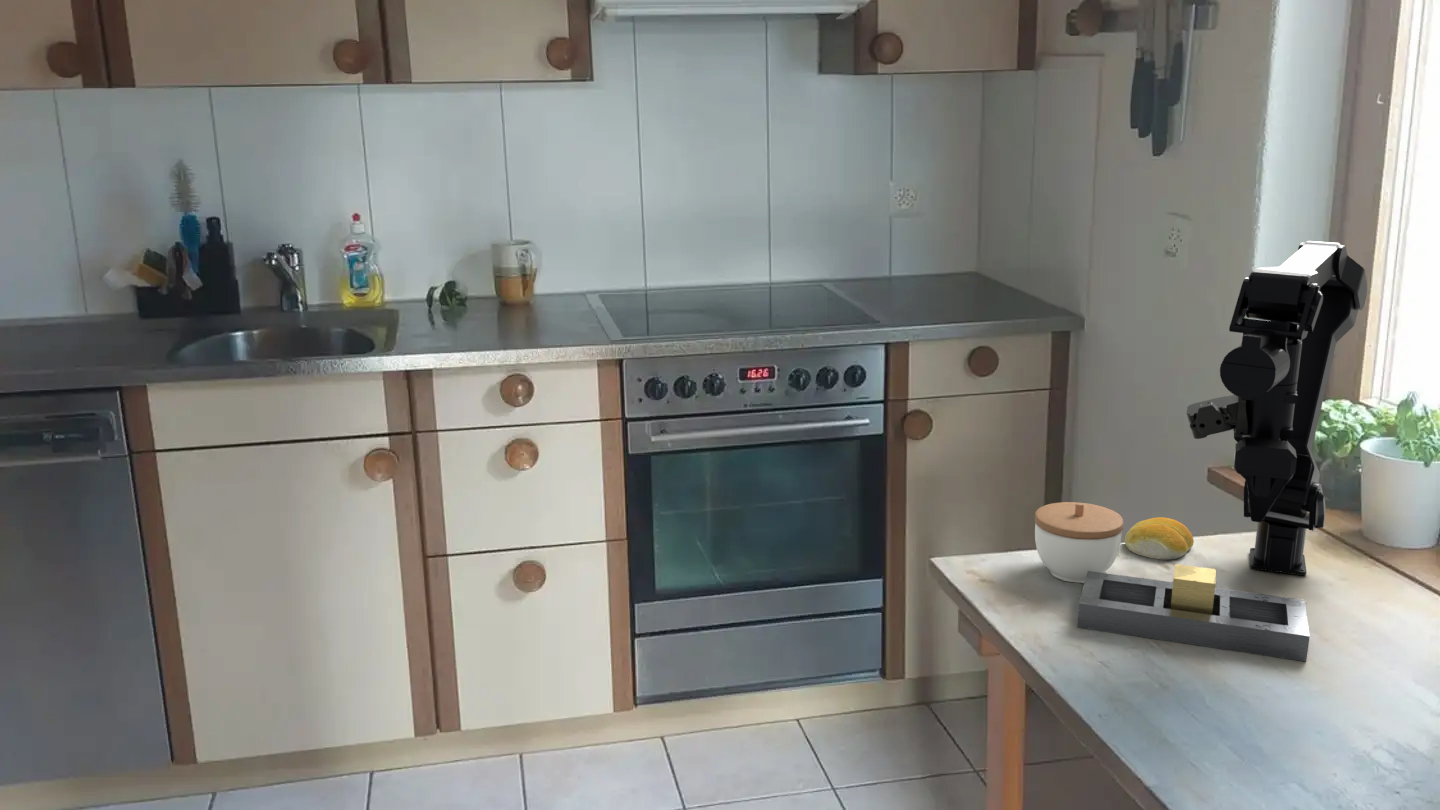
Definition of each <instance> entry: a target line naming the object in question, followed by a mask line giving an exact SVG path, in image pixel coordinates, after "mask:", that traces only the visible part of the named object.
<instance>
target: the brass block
mask: <svg viewBox="0 0 1440 810" xmlns="http://www.w3.org/2000/svg"><path fill="white" fill-rule="evenodd" d="M1216 571H1217V570H1216V568H1209V567H1201V566H1194V565H1186V564H1179V563H1178V564H1177V563H1175V564H1174V570H1173V578H1172V579H1173V581H1172V582H1173V589H1172V600H1171V609H1173V610H1180V611H1187V612H1194V613H1201V614H1208V615H1212V611H1213V601H1214V592H1215V588H1216V573H1217V572H1216Z"/></svg>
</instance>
